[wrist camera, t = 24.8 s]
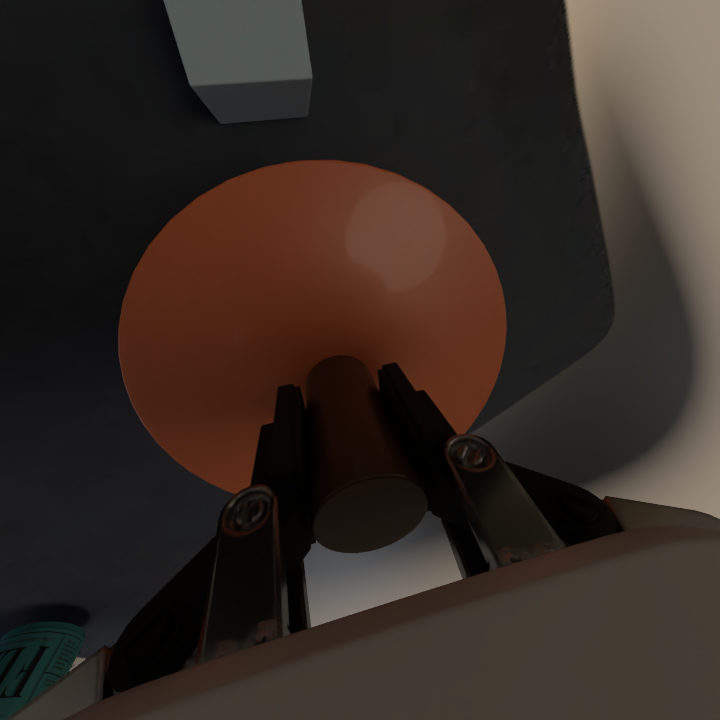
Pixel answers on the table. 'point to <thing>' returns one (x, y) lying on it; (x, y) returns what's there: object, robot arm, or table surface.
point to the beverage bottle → (35, 661)
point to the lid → (312, 333)
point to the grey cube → (245, 56)
